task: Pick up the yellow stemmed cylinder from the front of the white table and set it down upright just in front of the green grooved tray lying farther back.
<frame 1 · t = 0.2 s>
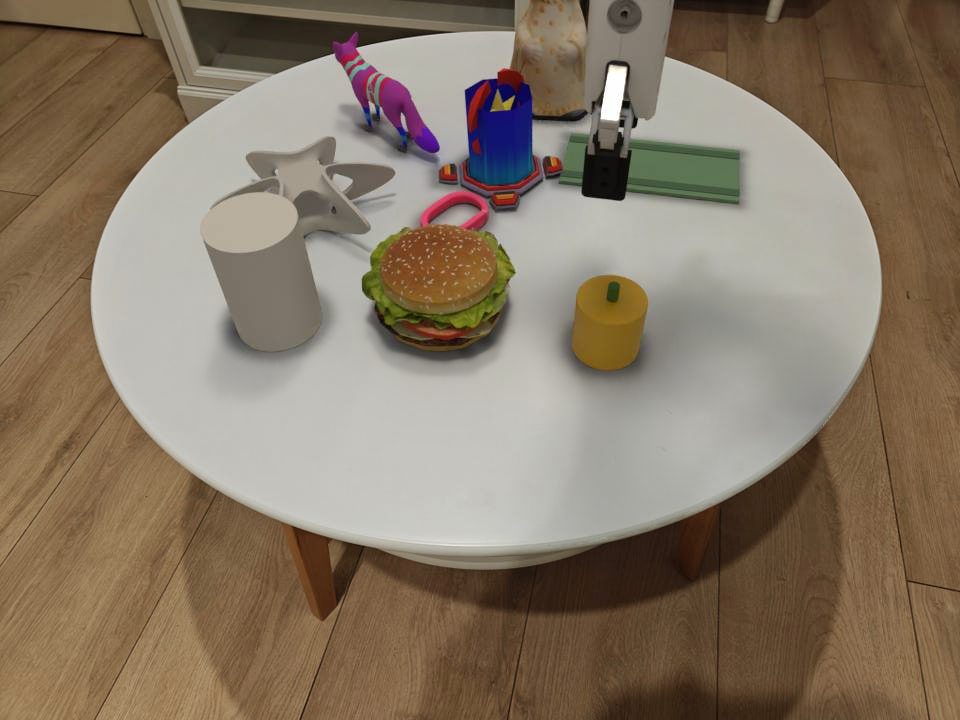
hand: (610, 159, 59), 18 cm above the table, tool pointing down, fingers open, 9 cm apart
magenta toy fox: (390, 136, 95), on the table
figurine: (549, 100, 100), on the table
beige solid cylinder: (280, 321, 74), on the table
food: (443, 307, 75), on the table
fitness band: (455, 222, 83), on the table, touching fantasy tower
green grooved tray: (650, 167, 89), on the table
sculpture: (310, 216, 85), on the table
yellow stemmed cylinder: (605, 345, 71), on the table
fantasy tower: (500, 172, 89), on the table, touching fitness band, green grooved tray
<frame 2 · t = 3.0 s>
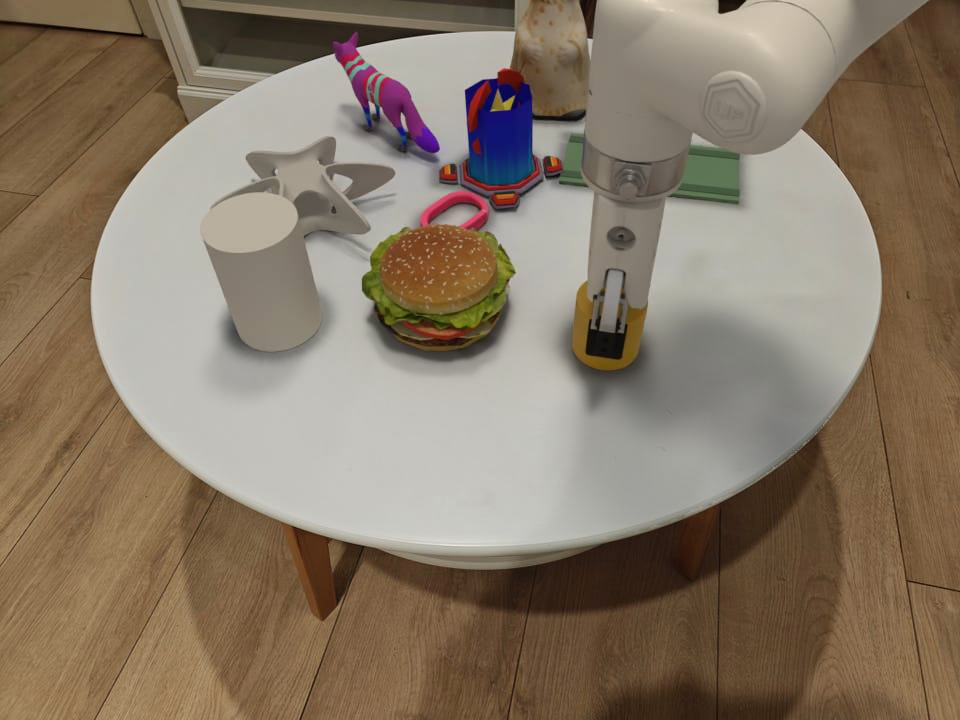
hand: (608, 325, 69), 3 cm above the table, tool pointing down, fingers closed on yellow stemmed cylinder, 6 cm apart
yellow stemmed cylinder: (605, 345, 71), on the table, touching gripper
everything else where it was.
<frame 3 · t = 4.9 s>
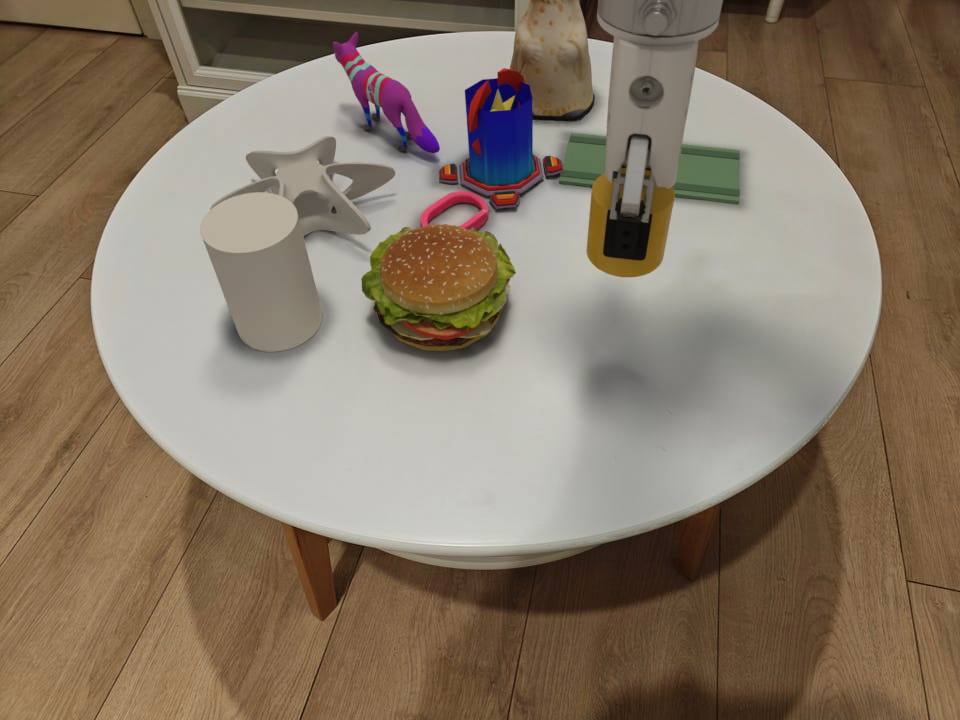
hand: (628, 226, 60), 14 cm above the table, tool pointing down, fingers closed on yellow stemmed cylinder, 6 cm apart
yellow stemmed cylinder: (624, 252, 62), point 11 cm above the table, touching gripper
everything else where it was.
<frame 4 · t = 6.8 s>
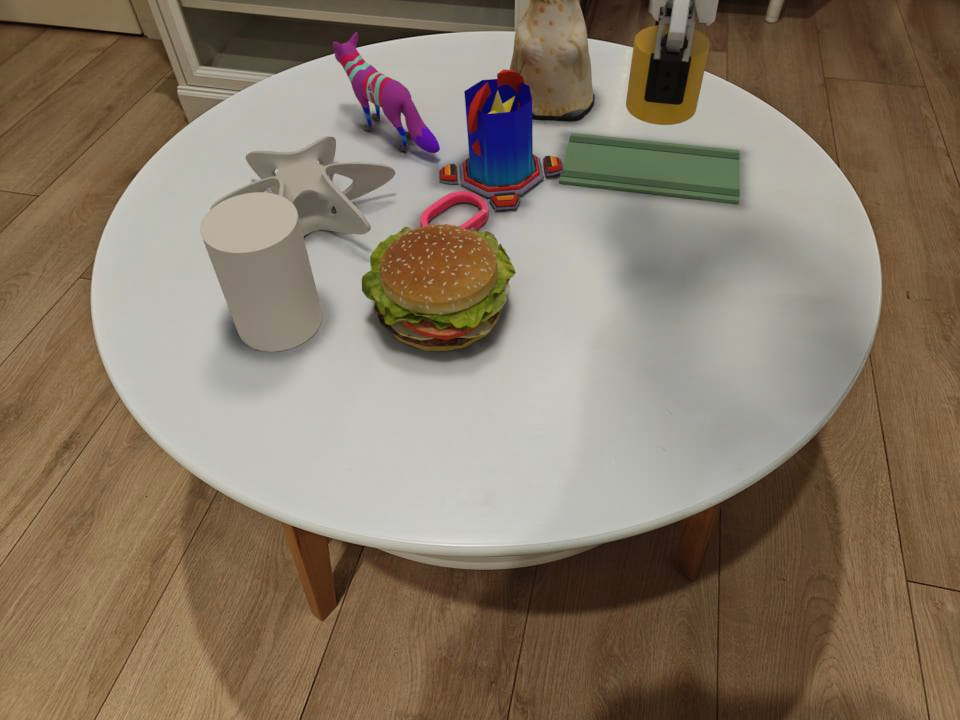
hand: (665, 78, 66), 18 cm above the table, tool pointing down, fingers closed on yellow stemmed cylinder, 6 cm apart
fitness band: (455, 222, 83), on the table
yellow stemmed cylinder: (660, 106, 68), point 16 cm above the table, touching gripper
fantasy tower: (501, 172, 89), on the table, touching green grooved tray
everything else where it was.
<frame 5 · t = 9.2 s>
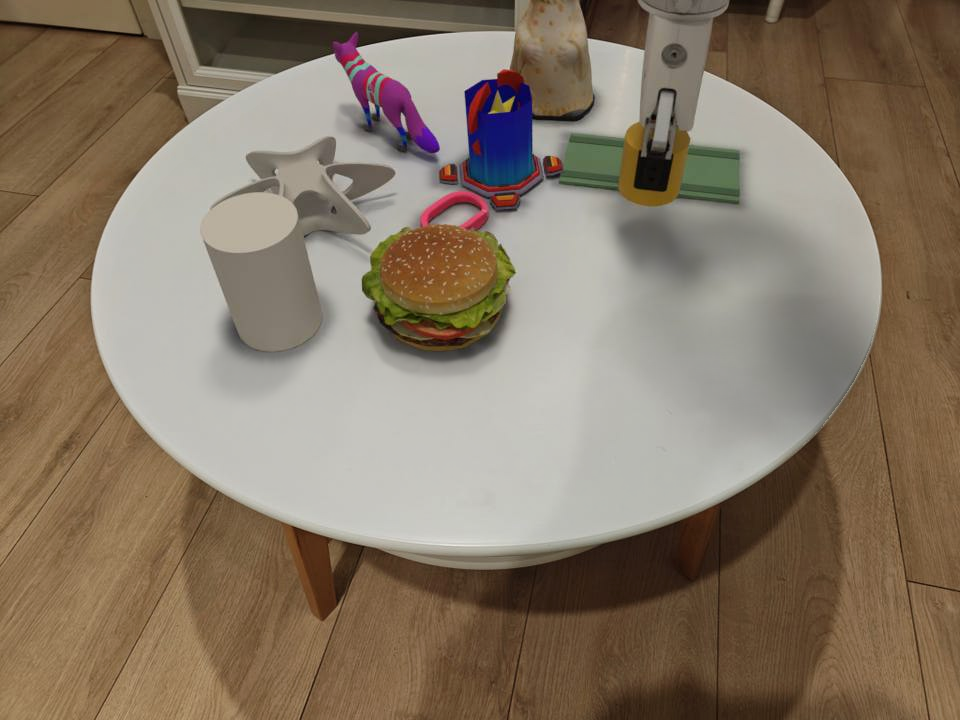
hand: (652, 166, 76), 8 cm above the table, tool pointing down, fingers closed on yellow stemmed cylinder, 6 cm apart
yellow stemmed cylinder: (648, 188, 78), point 5 cm above the table, touching gripper
everything else where it was.
when the fingers open (3 cm above the table, at t = 10.9 s): yellow stemmed cylinder stays where it is, on the table.
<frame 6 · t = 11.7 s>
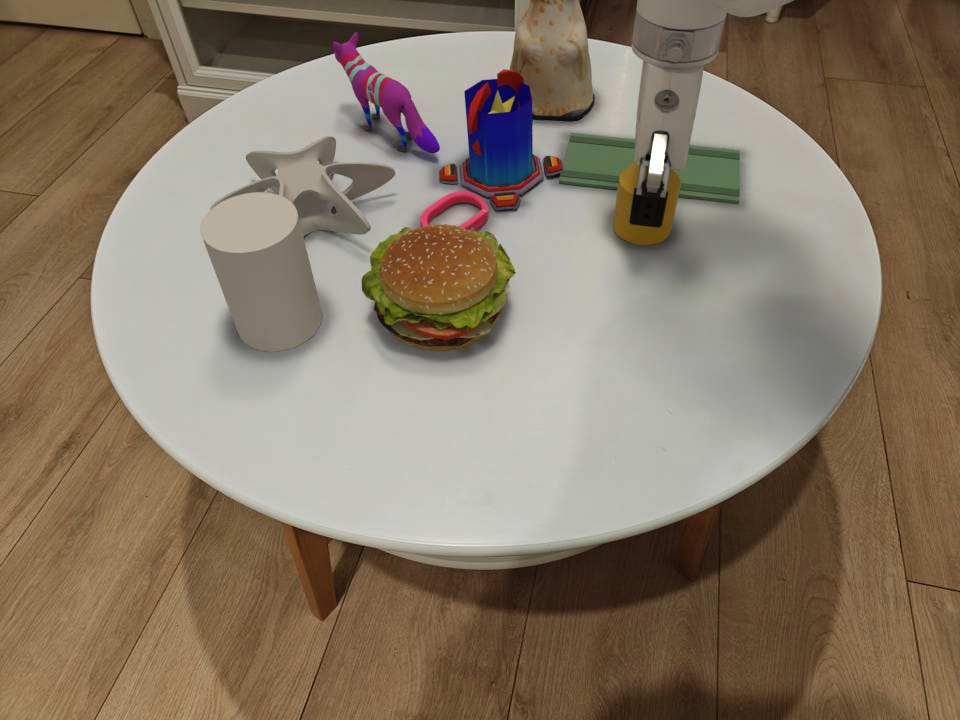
hand: (649, 195, 79), 4 cm above the table, tool pointing down, fingers open, 9 cm apart
yellow stemmed cylinder: (641, 226, 82), on the table
everything else where it was.
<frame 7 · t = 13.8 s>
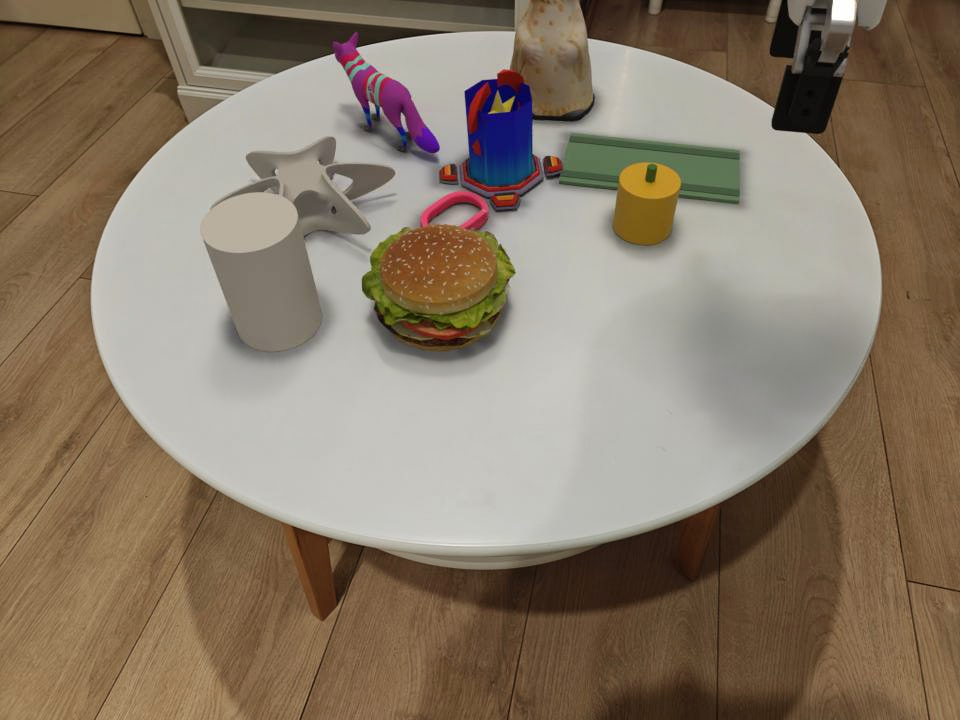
hand: (794, 90, 51), 26 cm above the table, tool pointing down, fingers open, 9 cm apart
nothing on the table moved.
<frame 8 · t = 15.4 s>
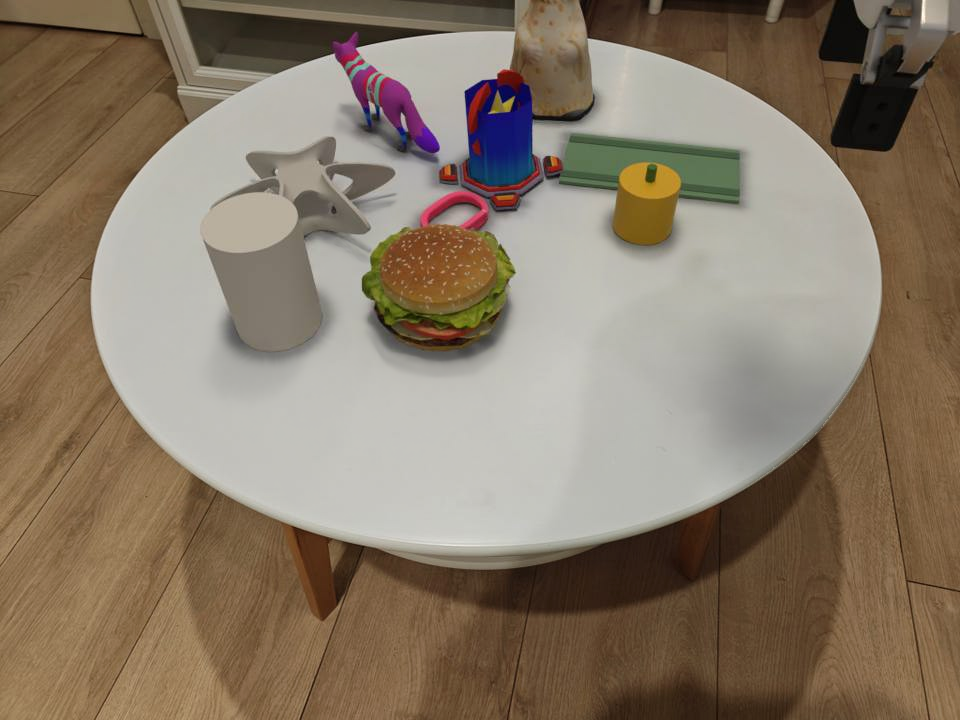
hand: (850, 100, 45), 28 cm above the table, tool pointing down, fingers open, 9 cm apart
nothing on the table moved.
at the end: yellow stemmed cylinder inside the target area on the table beside the green grooved tray (1.5 cm from its centre), on the table; yellow stemmed cylinder tilted 0°; the gripper is holding nothing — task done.
